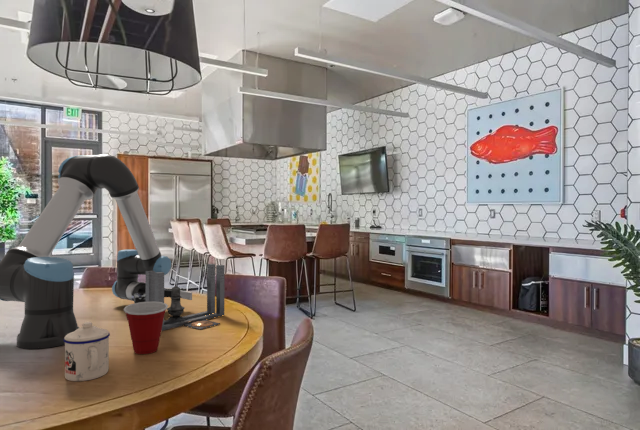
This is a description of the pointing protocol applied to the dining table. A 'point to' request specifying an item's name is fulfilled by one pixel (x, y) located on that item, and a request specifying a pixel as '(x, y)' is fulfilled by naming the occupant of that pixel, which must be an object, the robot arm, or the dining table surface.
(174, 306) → the dark grey finial
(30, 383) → the dining table surface
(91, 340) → the teacup with lid
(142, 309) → the plastic cup
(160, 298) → the metal stand
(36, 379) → the dining table surface
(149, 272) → the metal stand
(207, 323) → the pad
